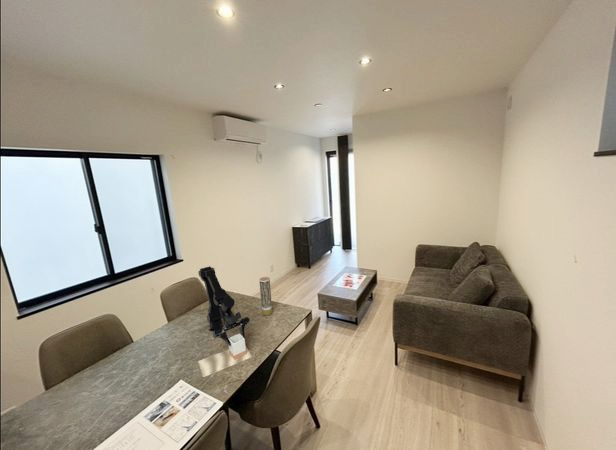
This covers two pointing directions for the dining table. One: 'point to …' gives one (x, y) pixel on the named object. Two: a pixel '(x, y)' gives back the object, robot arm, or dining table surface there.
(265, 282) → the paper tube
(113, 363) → the dining table surface
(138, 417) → the dining table surface
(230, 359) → the pin board
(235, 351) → the sleeve
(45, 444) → the dining table surface
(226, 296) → the robot arm
